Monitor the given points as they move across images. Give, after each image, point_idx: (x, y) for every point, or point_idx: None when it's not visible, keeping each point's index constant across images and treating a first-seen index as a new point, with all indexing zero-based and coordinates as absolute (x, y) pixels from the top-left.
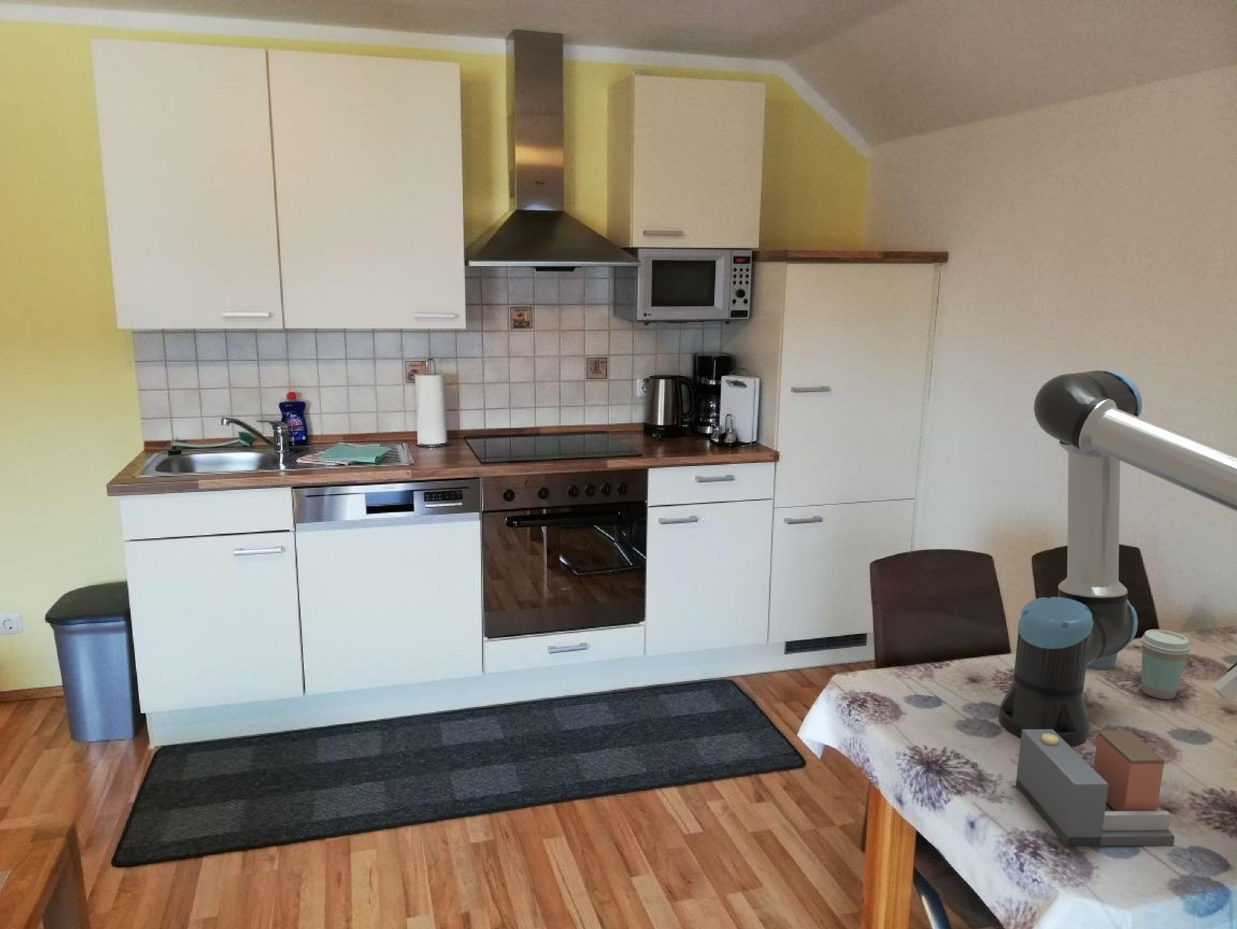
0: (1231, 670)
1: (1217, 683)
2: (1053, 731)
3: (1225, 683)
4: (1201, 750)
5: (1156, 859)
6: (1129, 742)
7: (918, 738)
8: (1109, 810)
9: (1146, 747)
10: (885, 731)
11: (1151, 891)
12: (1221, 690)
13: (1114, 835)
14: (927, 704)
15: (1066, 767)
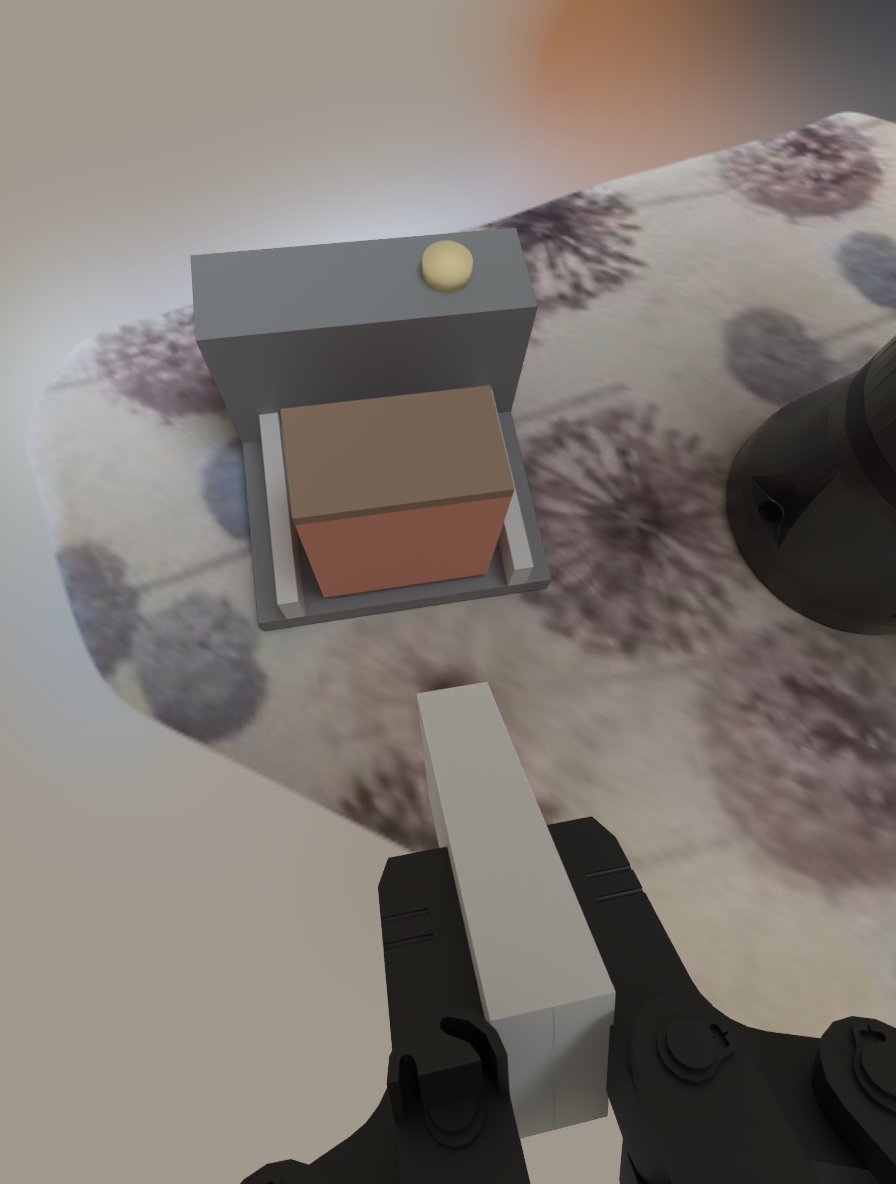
0: (533, 813)
1: (479, 706)
2: (521, 303)
3: (437, 738)
4: (861, 987)
5: (200, 563)
6: (417, 453)
7: (670, 222)
8: None
9: (386, 496)
10: (683, 169)
11: (76, 500)
12: (420, 715)
13: (249, 474)
14: (865, 275)
15: (289, 266)
